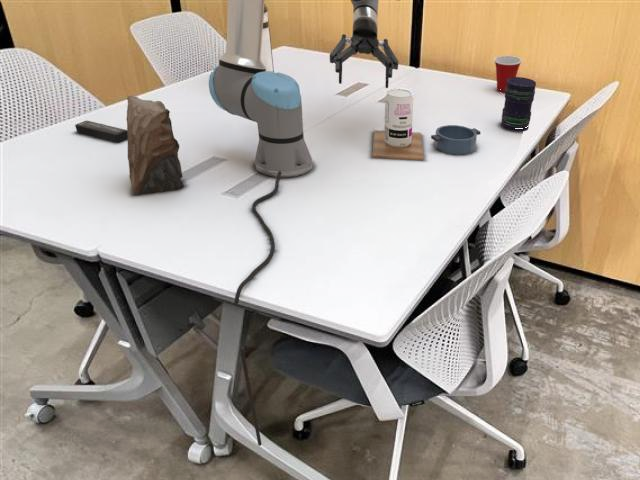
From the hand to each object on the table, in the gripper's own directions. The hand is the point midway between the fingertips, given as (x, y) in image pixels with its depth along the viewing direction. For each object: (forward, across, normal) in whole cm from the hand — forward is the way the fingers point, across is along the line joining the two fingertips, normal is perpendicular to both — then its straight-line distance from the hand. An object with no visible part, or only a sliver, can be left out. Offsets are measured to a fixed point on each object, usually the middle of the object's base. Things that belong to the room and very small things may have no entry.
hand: (363, 82), depth 170 cm
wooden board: (+12, -11, -12) cm, 20 cm away
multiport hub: (+15, +74, -14) cm, 76 cm away
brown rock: (+41, +52, +2) cm, 66 cm away
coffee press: (-33, +39, -40) cm, 65 cm away
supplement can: (+12, -11, -12) cm, 20 cm away
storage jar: (-8, -52, -22) cm, 57 cm away
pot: (+10, -29, -12) cm, 33 cm away
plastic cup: (-42, -55, -42) cm, 81 cm away
